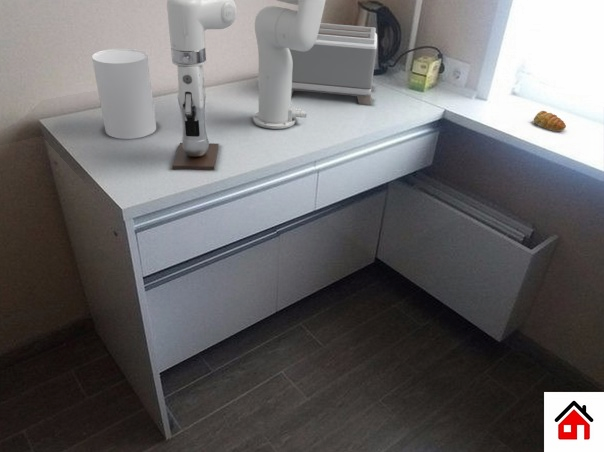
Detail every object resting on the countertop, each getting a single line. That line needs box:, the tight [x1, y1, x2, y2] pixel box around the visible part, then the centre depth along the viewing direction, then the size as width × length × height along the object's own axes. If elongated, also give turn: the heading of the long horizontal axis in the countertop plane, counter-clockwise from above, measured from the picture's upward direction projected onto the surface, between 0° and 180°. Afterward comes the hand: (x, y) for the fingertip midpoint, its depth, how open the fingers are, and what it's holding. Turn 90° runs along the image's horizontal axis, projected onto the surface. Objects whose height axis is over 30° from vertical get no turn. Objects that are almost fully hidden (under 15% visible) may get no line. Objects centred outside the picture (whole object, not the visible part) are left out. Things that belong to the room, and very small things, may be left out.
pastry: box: [533, 110, 567, 132], centre depth 154 cm, size 9×7×4 cm
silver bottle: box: [177, 78, 210, 157], centre depth 119 cm, size 6×7×20 cm
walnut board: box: [171, 142, 220, 171], centre depth 125 cm, size 10×13×1 cm
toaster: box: [289, 22, 378, 106], centre depth 166 cm, size 19×34×20 cm, turn 82°
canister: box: [91, 47, 157, 140], centre depth 132 cm, size 14×14×20 cm
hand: (194, 130), depth 121 cm, fingers closed on silver bottle, 5 cm apart
